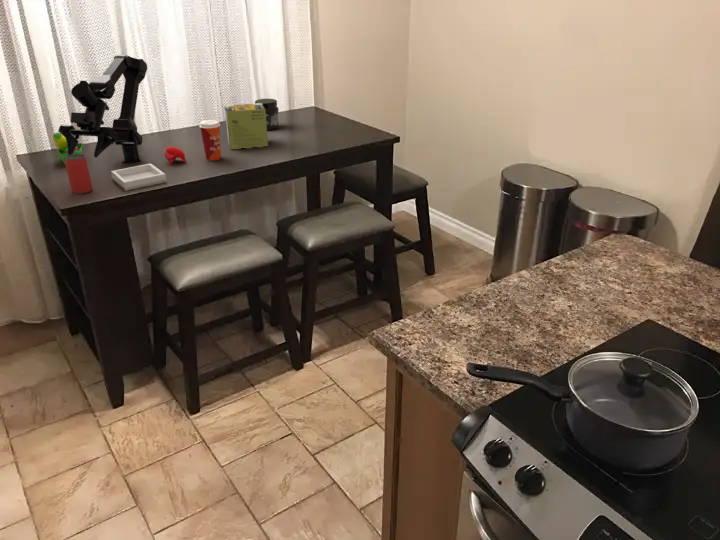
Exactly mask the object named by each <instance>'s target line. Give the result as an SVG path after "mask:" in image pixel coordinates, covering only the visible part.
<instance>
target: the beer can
mask: <svg viewBox="0 0 720 540" xmlns="http://www.w3.org/2000/svg"><path fill="white" fill-rule="evenodd" d="M65 169H66V172H67V177H68V180H69V186H70V189H71V192H72V193H73V194H76V195H83V194H84V193H85V194H88V193H90V192H92V191H93V189H94V188H93V183H92V178H91V174H90V170H89V165H88V161H87V159H86V158H85V155H84V154H72V155H68V156H66V161H65Z"/></svg>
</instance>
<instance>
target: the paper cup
mask: <svg viewBox="0 0 720 540" xmlns="http://www.w3.org/2000/svg"><path fill="white" fill-rule="evenodd" d="M220 126H221V124H220V122H219V121H218V120H217V119H216V120H215V119H207V120H206V119H205V120H202V121H200V123H199V128H200V134H201V138H202V144H203V148H204V154H205V160H207V161H219V160H221V158H222V150H221V130H220V128H221V127H220Z"/></svg>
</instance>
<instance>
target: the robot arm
mask: <svg viewBox="0 0 720 540" xmlns="http://www.w3.org/2000/svg"><path fill="white" fill-rule="evenodd" d="M147 71H148V64H147V62H146V61H145V60H144V59H143V58H135V57H131V56H130V55H127V54H116V55H114V56H113V60H112V61H111V63H110V64H109V66H107V68H106V70H105V71H103V73H102V75H99V76H98V77H95V78H93V79H92V80H91V81H90V82H89V83H88V82H87V80H81V79H80V80H79V83H76V84H75V85H73V87H72V88H71V90H70V91H71V92H70V93H71V95H72V96H73V98H75V100H76V101H77V102H78V103H79V104H80V105H81V106H82V107H84V108H85V111H84V112H71V113H70V123H71V124H61V125H59V128H58V131H57V132H59V133H61V134H62V135H63V136H64V137H65V138H66V141H67V147H68V154H69V155H72V154H73V152H74V150H75V148H76V146H77V144H78V143H79V138H80V136H81V137H82V136H83V137H97V142H96V145H95V149H94V153H93V157H94V158H98V157H99V155H101V154H102V153H103V152H104V151H105V150H106V149H107V148H108V147H110V146H111V145H113V144H114V143H115V145H116V146H118V145H119V146H121V150H122V155H123V156H122V163H134V162H135V163H136V162H141V161H142V155H141V154H140V151H139V146H141V145H142V143H143V136H142V135H141V134H140V133H139V131H138V127H137V126H138V125H137V124H136V122H135V116H136V115H135V114H136V107H137V103H138V102H137V101H138V96H139V95H138V94H139V87H140V84H141V83H142V82H143V80H144V79H146V78H145V77H146V75H147V74H146V73H147ZM122 76H123V77H124V79H125V81H124V86H123V87H124V88H123V95H122V100H121V106H120V107H121V108H120V114H119V117H118V118H114V119H113V121H112V127H111V126H104V125H105V122H104V120H103V118H104V116H105V112H106V111H109V110H110V107H109V105H108V104H107V103H108V102H106V101H104V100H110V99H112V98H113V97H114V94H115V92H116V87H115V86H116V84H117V82H118V81H119V80H120V78H121V77H122ZM73 123H74V124H76V127H77V128H79V129H76V128H75V127H74V126H73V125H72V124H73Z"/></svg>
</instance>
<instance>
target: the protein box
mask: <svg viewBox="0 0 720 540" xmlns="http://www.w3.org/2000/svg"><path fill="white" fill-rule="evenodd" d="M223 107H224V115H225V116H224V117H225V124H226V125H225V126H226V135H227V136H226V137H227V143H228V148H229V149H230V151H231V150H233V149H234V150H242V149H241V148H246V149H253V148H252V147H258V148H264V147H263V146H268V147H269V140H268V131H267V125H266V111H265V108H264V106H263V105H262V103H255V102H254V103H243V104H230V105H229V104H228V105H224V106H223Z"/></svg>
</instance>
